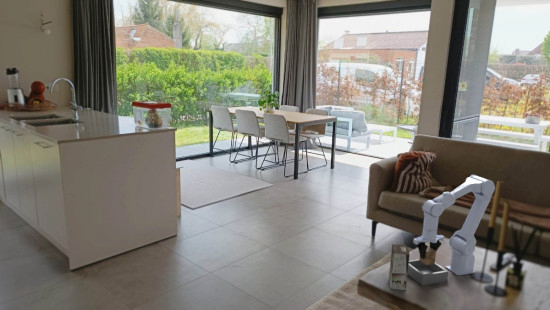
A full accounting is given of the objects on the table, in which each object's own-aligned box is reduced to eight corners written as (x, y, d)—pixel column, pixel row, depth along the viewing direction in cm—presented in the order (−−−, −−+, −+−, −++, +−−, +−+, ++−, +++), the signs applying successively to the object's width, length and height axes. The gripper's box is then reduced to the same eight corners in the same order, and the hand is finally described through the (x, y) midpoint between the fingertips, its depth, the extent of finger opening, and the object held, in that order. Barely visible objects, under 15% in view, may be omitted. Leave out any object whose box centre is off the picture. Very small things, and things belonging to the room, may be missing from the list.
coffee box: (406, 290, 163) (410, 254, 159) (390, 288, 164) (393, 253, 160) (403, 279, 171) (407, 245, 168) (388, 277, 172) (391, 243, 169)
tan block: (427, 258, 176) (429, 246, 174) (434, 263, 172) (436, 251, 170) (419, 260, 174) (420, 247, 173) (426, 265, 170) (427, 252, 169)
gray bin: (427, 266, 183) (428, 257, 182) (447, 280, 171) (448, 271, 170) (403, 270, 179) (404, 261, 178) (422, 285, 167) (423, 275, 166)
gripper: (422, 233, 164) (418, 263, 167) (450, 229, 168) (446, 259, 171) (411, 227, 170) (408, 256, 173) (439, 223, 175) (435, 251, 178)
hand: (426, 257), depth 173 cm, fingers closed on tan block, 4 cm apart
